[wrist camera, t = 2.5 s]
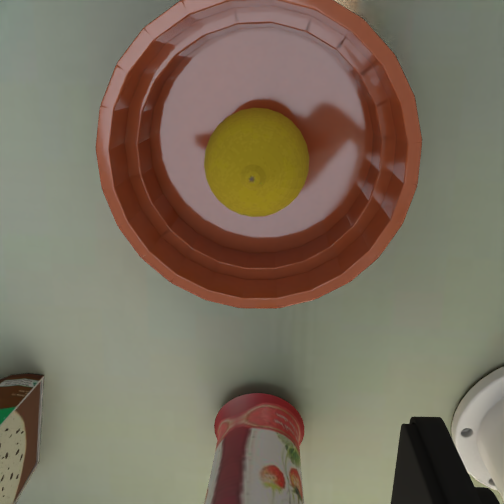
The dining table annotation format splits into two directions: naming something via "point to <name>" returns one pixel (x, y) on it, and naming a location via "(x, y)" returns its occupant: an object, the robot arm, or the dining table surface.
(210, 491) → the liquor
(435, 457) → the robot arm
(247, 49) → the fruit bowl
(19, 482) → the food container
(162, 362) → the dining table surface
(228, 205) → the lemon
